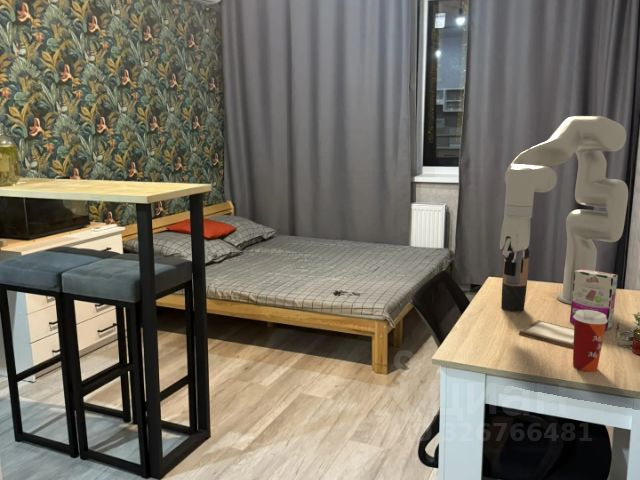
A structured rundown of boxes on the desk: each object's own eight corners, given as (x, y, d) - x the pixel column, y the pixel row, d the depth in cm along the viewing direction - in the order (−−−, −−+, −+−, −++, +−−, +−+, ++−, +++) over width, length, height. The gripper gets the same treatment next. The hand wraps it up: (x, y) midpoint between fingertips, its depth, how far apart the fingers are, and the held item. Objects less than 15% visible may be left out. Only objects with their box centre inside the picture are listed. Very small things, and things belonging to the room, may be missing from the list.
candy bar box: (612, 327, 174) (619, 274, 171) (607, 331, 171) (613, 277, 167) (574, 318, 182) (580, 267, 178) (568, 322, 178) (574, 270, 175)
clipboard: (537, 323, 177) (538, 317, 176) (592, 336, 166) (593, 330, 165) (519, 334, 167) (519, 327, 167) (575, 349, 157) (576, 342, 156)
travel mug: (526, 312, 186) (531, 252, 182) (501, 310, 188) (506, 250, 184) (523, 305, 194) (528, 247, 190) (499, 303, 195) (503, 245, 191)
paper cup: (599, 376, 140) (606, 321, 137) (565, 368, 144) (571, 315, 141) (603, 365, 146) (609, 312, 143) (571, 358, 150) (576, 306, 147)
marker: (508, 280, 171) (512, 237, 168) (522, 283, 168) (525, 239, 166) (502, 283, 168) (505, 239, 165) (516, 285, 165) (519, 241, 163)
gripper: (518, 206, 172) (513, 266, 176) (492, 212, 160) (487, 276, 164) (543, 209, 167) (537, 270, 171) (518, 215, 155) (512, 281, 159)
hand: (513, 273), depth 168 cm, fingers closed on marker, 3 cm apart
